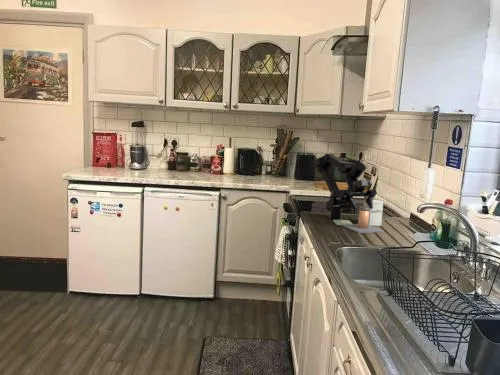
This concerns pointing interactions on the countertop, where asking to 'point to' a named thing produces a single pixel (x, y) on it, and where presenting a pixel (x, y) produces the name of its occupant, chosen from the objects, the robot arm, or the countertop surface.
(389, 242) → the countertop surface
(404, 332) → the countertop surface
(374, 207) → the supplement box
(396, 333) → the countertop surface
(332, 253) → the countertop surface
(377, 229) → the gray board
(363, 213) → the terracotta jar
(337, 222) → the sage tile
